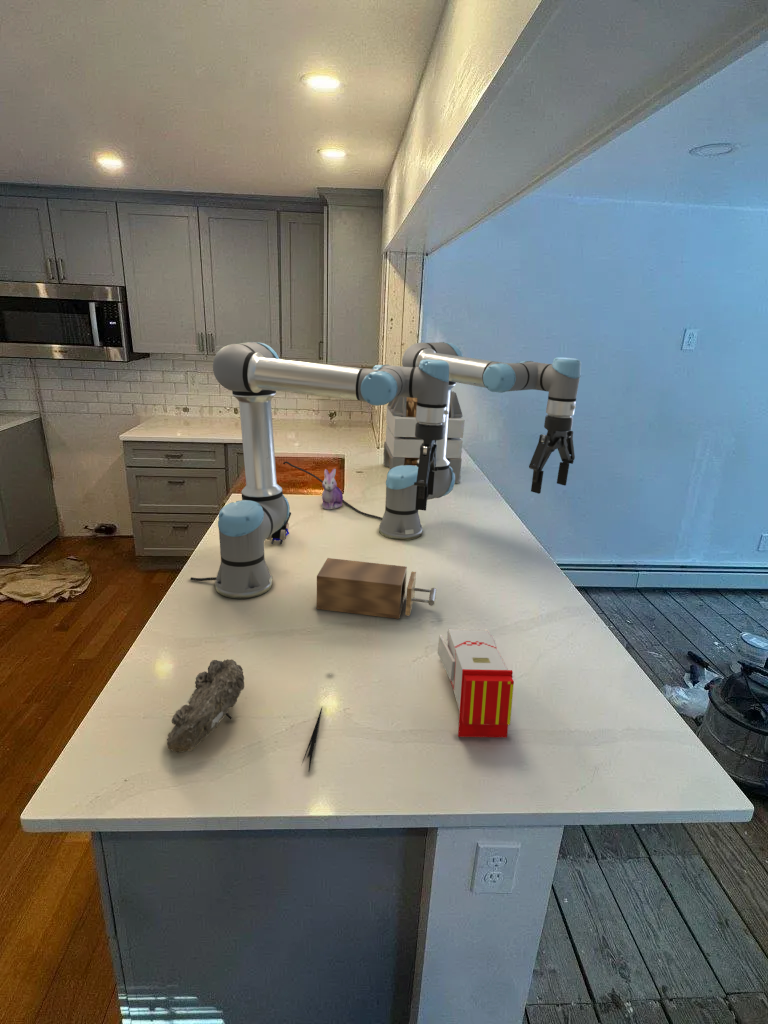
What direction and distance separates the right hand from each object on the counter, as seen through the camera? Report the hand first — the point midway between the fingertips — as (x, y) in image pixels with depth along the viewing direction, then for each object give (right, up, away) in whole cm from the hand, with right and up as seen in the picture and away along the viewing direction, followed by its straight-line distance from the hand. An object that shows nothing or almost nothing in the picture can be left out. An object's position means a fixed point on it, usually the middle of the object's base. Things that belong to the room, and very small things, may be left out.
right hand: (548, 488), depth 165 cm
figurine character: (-83, -16, +26) cm, 89 cm away
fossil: (-81, -46, -57) cm, 109 cm away
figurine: (-69, -5, +59) cm, 91 cm away
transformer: (-31, +12, +110) cm, 115 cm away
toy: (-30, -45, -46) cm, 71 cm away
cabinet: (-54, -31, -13) cm, 64 cm away
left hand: (-37, -4, -13) cm, 40 cm away
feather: (-60, -47, -56) cm, 95 cm away
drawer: (-48, -31, -14) cm, 59 cm away
